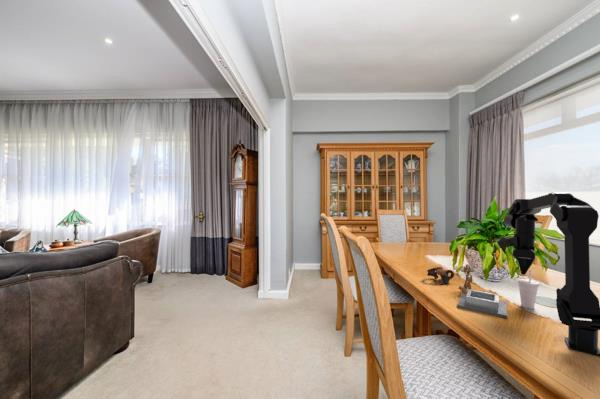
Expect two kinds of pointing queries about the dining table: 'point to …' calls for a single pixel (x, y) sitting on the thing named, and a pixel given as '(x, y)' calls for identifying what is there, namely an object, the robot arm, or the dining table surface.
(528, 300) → the smoothie
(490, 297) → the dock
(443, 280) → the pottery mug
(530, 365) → the dining table surface
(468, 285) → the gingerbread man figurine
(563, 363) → the dining table surface
